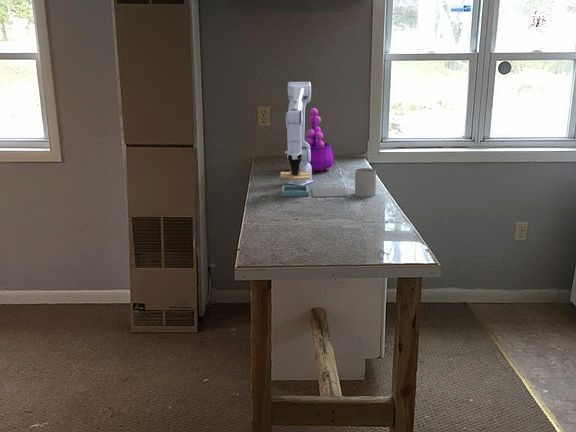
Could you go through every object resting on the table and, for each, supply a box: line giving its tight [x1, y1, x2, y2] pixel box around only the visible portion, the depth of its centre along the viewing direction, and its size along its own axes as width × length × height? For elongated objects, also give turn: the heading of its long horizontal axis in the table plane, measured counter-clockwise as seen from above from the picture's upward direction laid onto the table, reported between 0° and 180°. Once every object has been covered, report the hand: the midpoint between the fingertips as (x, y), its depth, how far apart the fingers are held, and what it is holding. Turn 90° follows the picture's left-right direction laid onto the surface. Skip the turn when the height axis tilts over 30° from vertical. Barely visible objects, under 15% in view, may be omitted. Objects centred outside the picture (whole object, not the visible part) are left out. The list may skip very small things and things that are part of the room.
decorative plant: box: [302, 107, 334, 172], centre depth 294 cm, size 19×18×30 cm
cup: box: [354, 167, 377, 198], centre depth 250 cm, size 8×8×10 cm
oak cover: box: [279, 165, 310, 181], centre depth 252 cm, size 12×12×5 cm
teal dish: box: [281, 184, 310, 198], centre depth 254 cm, size 11×11×2 cm
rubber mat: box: [311, 187, 348, 198], centre depth 254 cm, size 14×14×1 cm
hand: (295, 173), depth 252 cm, fingers closed on oak cover, 4 cm apart
